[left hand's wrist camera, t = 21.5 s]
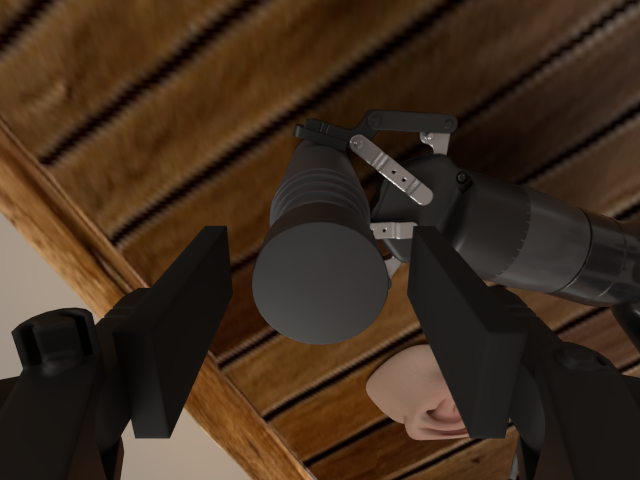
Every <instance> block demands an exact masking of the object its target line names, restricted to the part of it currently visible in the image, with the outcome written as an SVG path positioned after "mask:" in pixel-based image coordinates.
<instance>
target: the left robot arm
mask: <svg viewBox="0 0 640 480" xmlns="http://www.w3.org/2000/svg"><path fill="white" fill-rule="evenodd" d="M232 295H233V290H232V279H231V268H230V257H229V245H228V234H227V226H205V227H204V228H203V229H202V230H201V231H200V233H199V234H198V235H197V236H196V237H195V238H194V239H193V241H192V242H191V243H190V244H189V245H188V246H187V247H186V249H185V250H184V251H183V252H182V253H181V254H180V255H179V257H178V258H177V259H176V260H175V261H174V262H173V263H172V264H171V266H170V267H169V268H168V269H167V270H166V271H165V272H164V274H163V275H162V276H161V277H160V278H159V279H158V280H157V282H156V283H155V284H154V285H153V286H152V287H151V288H138V289H136V290H134V291H133V292H131V293H129V294H127V295H125V296H124V297H122V298H121V299H120V300H119V301H118V302H117V303H116V304H115V306H114V307H113V309H111V310H110V311H109V312H108V313H107V314H106V315H105V316H104V318H102V319H101V320H100V321H99V322H98V323H97V324H96V325H95V324H94V320H93V315H92V313H91V312H89V311H88V310H87V309H82V308H62V309H58V310H53V311H48V312H45V313H42V314H40V315H37V316H34V317H32V318H30V319H28V320H26V321H25V322H23V323H21V324H19V325H18V326H17V327H16V328H15V329H14V330H13V331H12V332H11V333H12V336H13V339H14V342H15V345H16V348H17V351H18V354H19V357H20V360H21V363H22V367H23V371H22V372H21V374H20V376H17V377H12V378H7V379H2V380H0V480H120V478H121V471H122V464H123V457H124V448H123V442H122V438H121V434H122V433H123V431H124V429H125V427H126V426H127V424H128V422H129V421H130V419H131V421H132V426H133V430H134V435H135V438H170V437H171V434H172V432H173V430H174V428H175V425H176V423H177V421H178V418H179V416H180V414H181V412H182V409H183V407H184V405H185V402H186V400H187V398H188V396H189V393H190V391H191V389H192V386H193V384H194V382H195V380H196V377H197V375H198V373H199V370H200V368H201V366H202V364H203V361H204V359H205V357H206V354H207V352H208V350H209V348H210V345H211V343H212V341H213V338H214V336H215V334H216V332H217V329H218V327H219V325H220V322H221V320H222V318H223V316H224V313H225V311H226V309H227V306H228V304H229V302H230V300H231V297H232ZM407 295H408V297H409V300H410V302H411V304H412V306H413V309H414V311H415V313H416V316H417V318H418V320H419V322H420V325H421V327H422V329H423V332H424V334H425V336H426V338H427V341H428V343H429V345H430V348H431V350H432V352H433V354H434V357H435V359H436V361H437V364H438V366H439V368H440V370H441V373H442V375H443V377H444V380H445V382H446V384H447V386H448V389H449V391H450V393H451V396H452V398H453V400H454V402H455V405H456V407H457V409H458V412H459V414H460V416H461V418H462V421H463V423H464V425H465V428H466V430H467V432H468V434H469V437H470V438H505V435H506V430H507V426H508V421H509V417H510V419H511V420H512V422H513V424H514V425H515V427H516V429H517V431H518V432H519V438H518V442H517V446H516V450H515V454H514V459H513V463H512V467H511V472H510V479H513V480H515V479H516V475H517V471H518V470H519V477H520V480H640V378H638V377H632V376H627V375H622V374H620V373H619V372H618V370H617V368H616V367H615V366H614V365H613V364H612V363H611V361H610V360H609V359H607V358H606V357H604V356H603V355H601V354H600V353H598V352H596V351H594V350H591V349H589V348H587V347H585V346H582V345H578V344H574V343H570V342H563V341H562V340H561V339H560V338H559V337H558V336H557V335H556V334H555V333H554V332H553V331H552V330H551V329H550V328H549V327H548V326H547V325H546V324H545V323H544V322H543V321H542V320H541V319H540V318H539V317H536V314H535V313H534V312H533V311H532V310H531V309H530V308H528V307H527V305H526V304H525V303H524V302H523V301H522V300H521V299H520V298H519V297H518V296H517V295H516V294H514V293H512V292H510V291H508V290H506V289H505V288H503V287H488V286H487V285H486V284H485V283H484V282H483V280H482V279H481V278H480V277H479V276H478V275H477V274H476V272H475V271H474V270H473V269H472V268H471V267H470V266H469V264H468V263H467V262H466V261H465V260H464V259H463V258H462V257H461V255H460V254H459V253H458V252H457V251H456V250H455V249H454V247H453V246H452V245H451V244H450V243H449V242H448V241H447V239H446V238H445V237H444V236H443V235H442V234H441V233H440V231H439V230H438V229H437V228H436V227H435V226H413V234H412V245H411V257H410V268H409V279H408V290H407Z"/></svg>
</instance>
